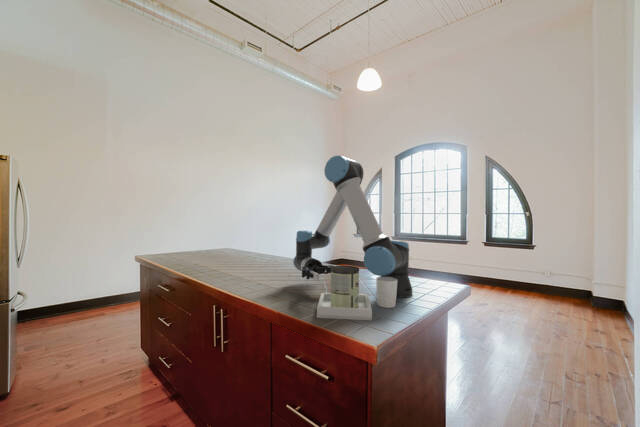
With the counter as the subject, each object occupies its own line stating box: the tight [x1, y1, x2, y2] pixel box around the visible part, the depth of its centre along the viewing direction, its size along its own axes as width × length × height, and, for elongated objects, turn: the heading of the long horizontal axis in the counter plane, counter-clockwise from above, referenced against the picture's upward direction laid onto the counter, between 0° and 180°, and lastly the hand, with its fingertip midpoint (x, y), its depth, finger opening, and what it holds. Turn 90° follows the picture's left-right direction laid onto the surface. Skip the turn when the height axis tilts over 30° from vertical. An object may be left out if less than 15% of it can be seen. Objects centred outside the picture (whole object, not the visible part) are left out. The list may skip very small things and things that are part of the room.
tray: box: [316, 292, 373, 321], centre depth 104 cm, size 18×18×4 cm
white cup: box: [375, 276, 397, 309], centre depth 110 cm, size 8×8×10 cm
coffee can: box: [330, 265, 360, 308], centre depth 104 cm, size 10×10×14 cm
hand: (333, 276), depth 111 cm, fingers open, 13 cm apart
